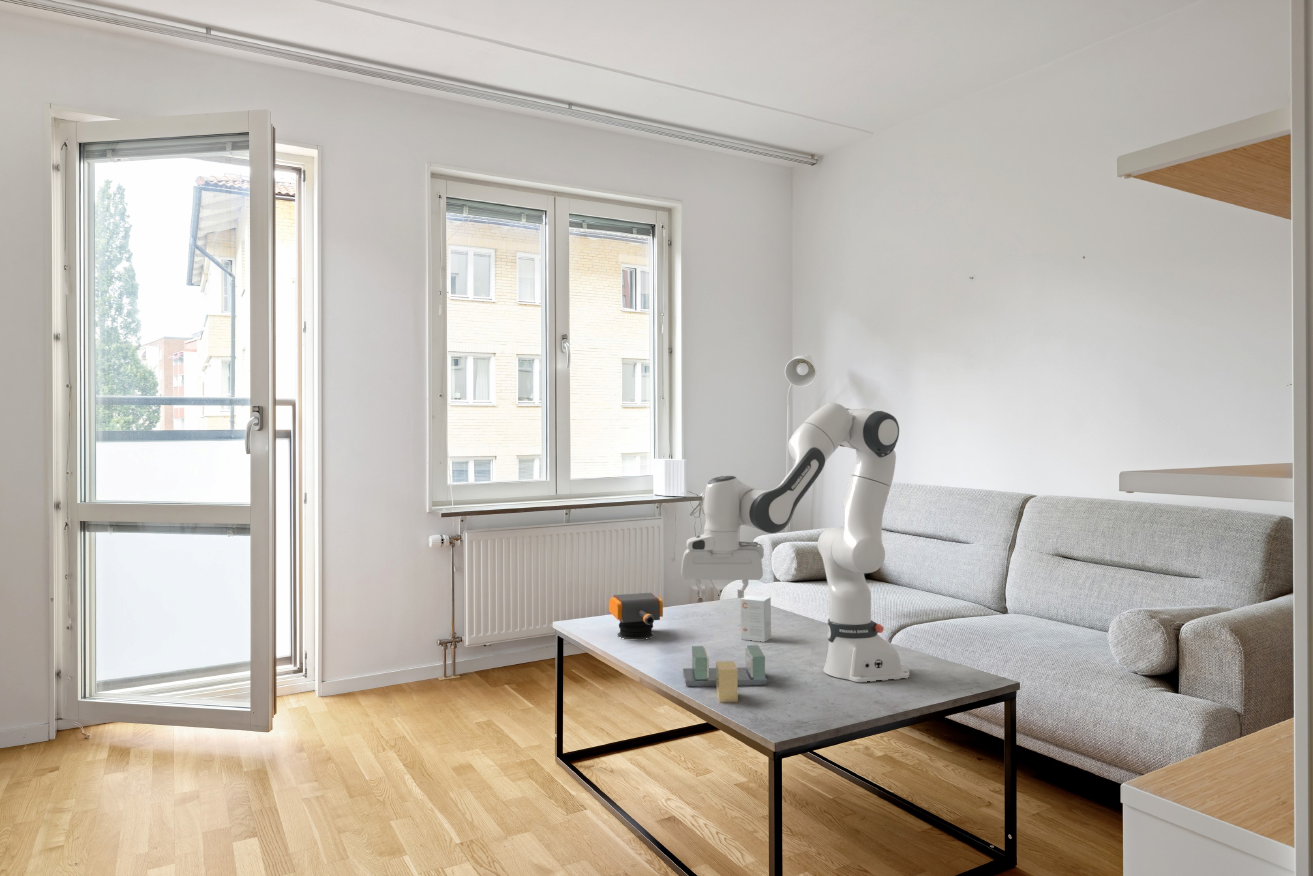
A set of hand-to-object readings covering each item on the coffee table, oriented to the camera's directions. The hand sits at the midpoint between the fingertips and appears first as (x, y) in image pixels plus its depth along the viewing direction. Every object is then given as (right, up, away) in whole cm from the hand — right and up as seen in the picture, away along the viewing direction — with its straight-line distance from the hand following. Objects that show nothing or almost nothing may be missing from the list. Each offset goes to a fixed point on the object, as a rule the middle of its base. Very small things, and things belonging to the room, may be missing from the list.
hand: (721, 597), depth 206 cm
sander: (-21, -24, +57) cm, 65 cm away
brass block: (+1, -25, -1) cm, 25 cm away
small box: (+15, -24, +56) cm, 63 cm away
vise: (+2, -25, +14) cm, 28 cm away
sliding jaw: (-5, -23, +14) cm, 27 cm away
